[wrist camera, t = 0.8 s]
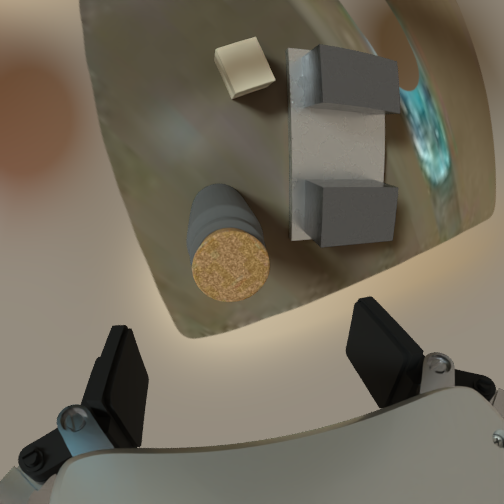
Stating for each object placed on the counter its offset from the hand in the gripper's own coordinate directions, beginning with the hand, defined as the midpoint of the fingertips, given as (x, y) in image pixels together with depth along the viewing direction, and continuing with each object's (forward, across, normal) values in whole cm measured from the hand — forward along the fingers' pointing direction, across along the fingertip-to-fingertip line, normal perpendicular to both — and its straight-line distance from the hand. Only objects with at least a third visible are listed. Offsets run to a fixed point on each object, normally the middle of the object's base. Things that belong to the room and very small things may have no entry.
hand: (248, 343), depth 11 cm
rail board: (+22, -14, -7) cm, 27 cm away
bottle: (+22, 0, 0) cm, 22 cm away
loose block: (+22, -3, -15) cm, 27 cm away
